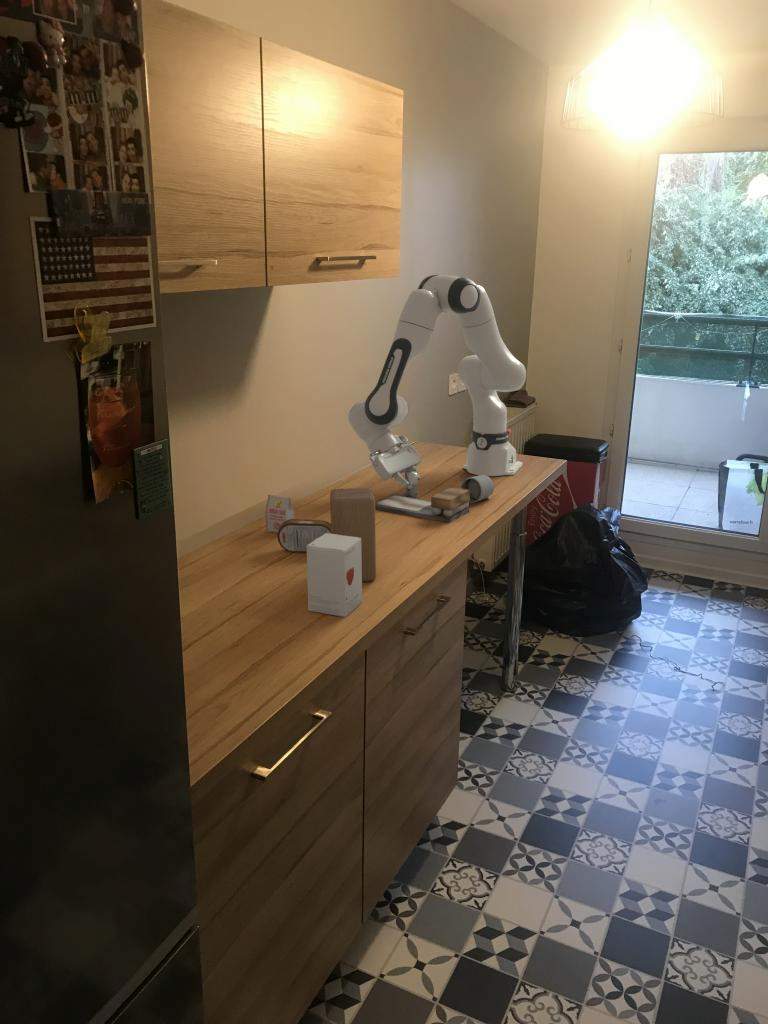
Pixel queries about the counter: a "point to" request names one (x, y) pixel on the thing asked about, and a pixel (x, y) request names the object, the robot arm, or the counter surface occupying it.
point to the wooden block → (356, 523)
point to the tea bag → (278, 512)
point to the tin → (301, 533)
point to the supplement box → (334, 574)
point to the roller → (411, 484)
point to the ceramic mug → (478, 487)
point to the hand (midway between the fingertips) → (413, 482)
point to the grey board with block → (430, 505)
